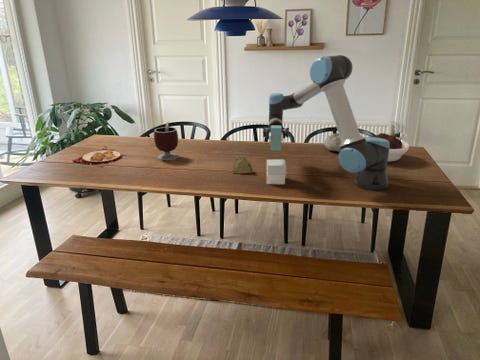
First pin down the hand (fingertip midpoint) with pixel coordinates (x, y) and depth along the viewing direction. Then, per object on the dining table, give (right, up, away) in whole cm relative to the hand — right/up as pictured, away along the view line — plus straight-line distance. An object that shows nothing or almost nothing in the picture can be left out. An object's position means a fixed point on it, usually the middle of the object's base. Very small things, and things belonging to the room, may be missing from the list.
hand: (276, 138), depth 178 cm
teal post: (+1, -4, +7) cm, 8 cm away
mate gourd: (-60, -6, +52) cm, 80 cm away
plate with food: (-99, -7, +52) cm, 112 cm away
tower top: (+1, -15, +12) cm, 19 cm away
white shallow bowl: (+67, -7, +43) cm, 80 cm away
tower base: (+1, -20, +13) cm, 24 cm away
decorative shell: (+45, -1, +60) cm, 75 cm away
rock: (-15, -15, +25) cm, 33 cm away
